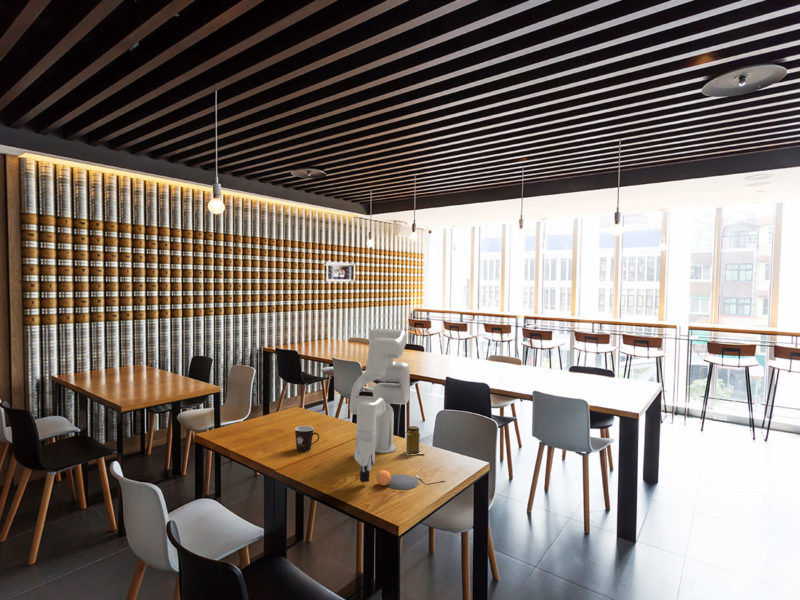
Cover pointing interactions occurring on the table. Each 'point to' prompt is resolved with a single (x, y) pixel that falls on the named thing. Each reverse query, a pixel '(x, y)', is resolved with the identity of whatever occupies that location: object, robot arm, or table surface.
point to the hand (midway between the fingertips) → (364, 481)
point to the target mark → (402, 482)
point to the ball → (383, 477)
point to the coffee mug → (304, 438)
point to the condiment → (412, 440)
